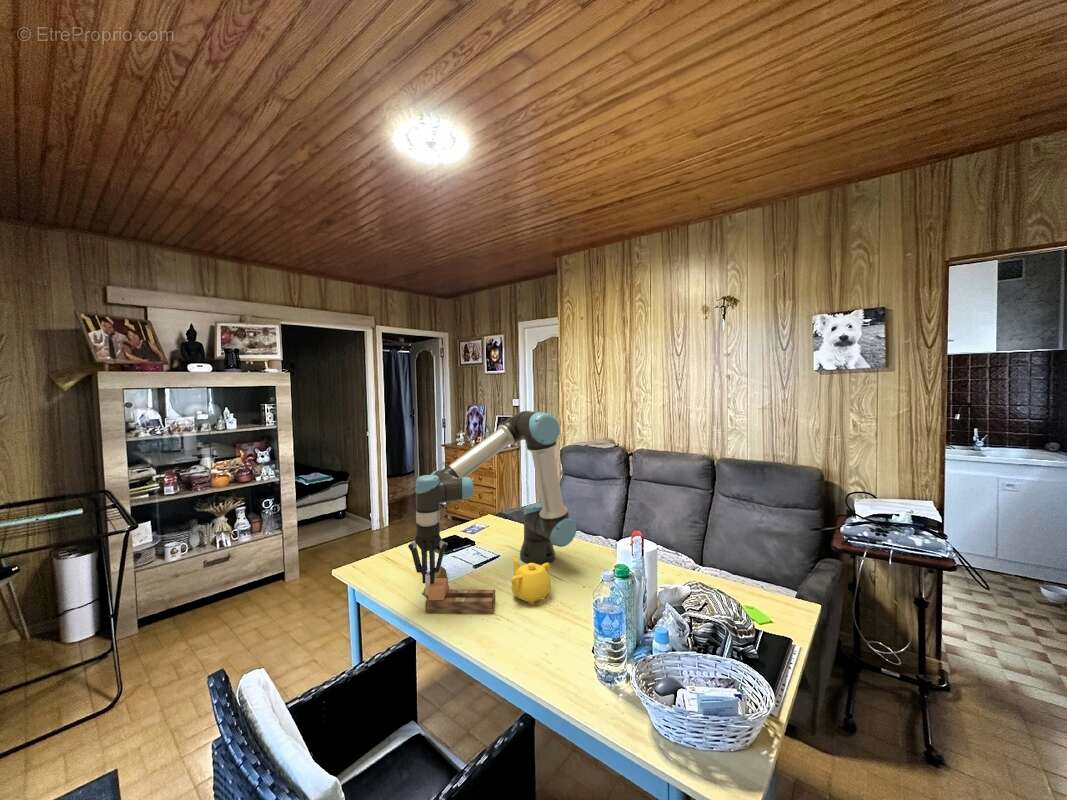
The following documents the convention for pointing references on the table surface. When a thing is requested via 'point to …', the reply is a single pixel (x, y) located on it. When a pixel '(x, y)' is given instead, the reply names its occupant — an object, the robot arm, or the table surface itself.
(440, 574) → the rock
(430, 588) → the orange brown block
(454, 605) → the beam
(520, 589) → the teapot
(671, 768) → the table surface
